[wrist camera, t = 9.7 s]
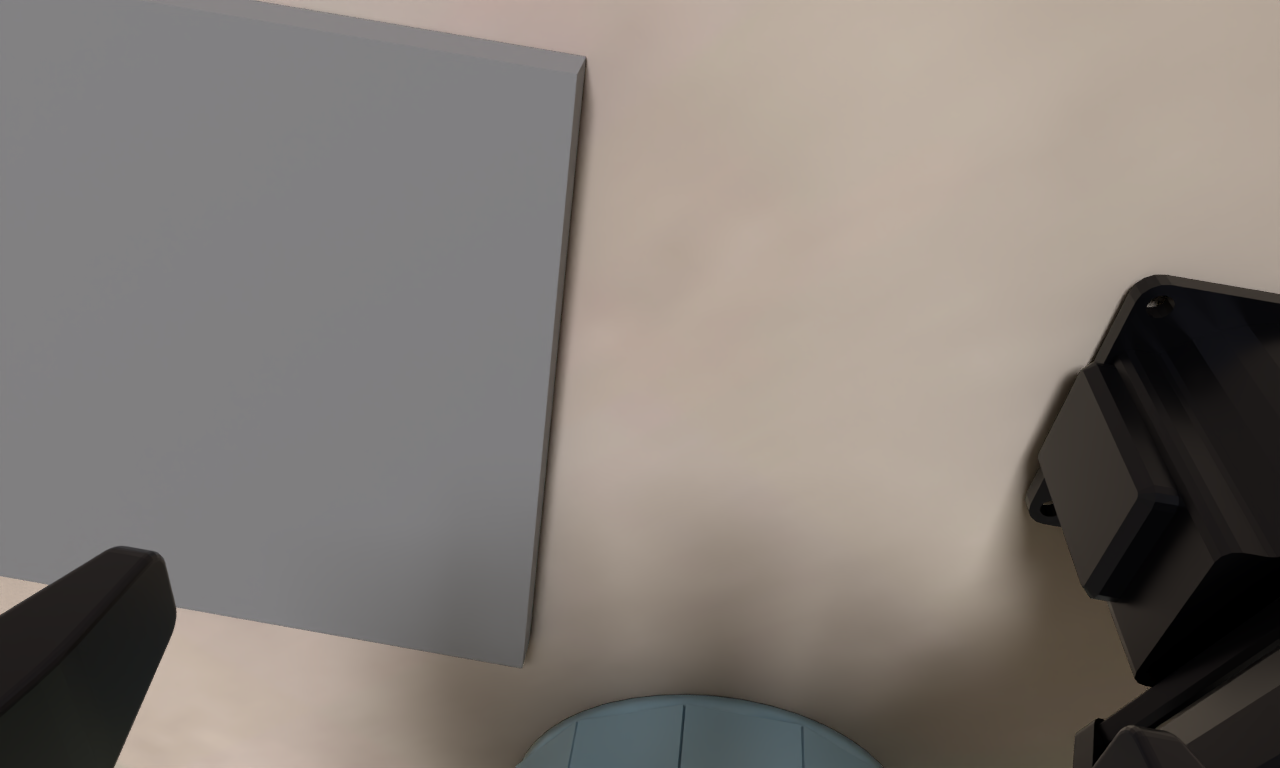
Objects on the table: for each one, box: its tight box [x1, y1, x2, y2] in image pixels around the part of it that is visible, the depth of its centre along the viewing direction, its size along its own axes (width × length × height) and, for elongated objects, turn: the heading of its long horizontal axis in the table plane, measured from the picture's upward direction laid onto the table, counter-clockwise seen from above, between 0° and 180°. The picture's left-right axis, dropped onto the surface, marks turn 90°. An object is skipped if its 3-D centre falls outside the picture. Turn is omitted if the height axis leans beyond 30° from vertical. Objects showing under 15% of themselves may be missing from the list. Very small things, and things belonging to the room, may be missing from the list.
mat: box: [0, 0, 586, 668], centre depth 22 cm, size 17×17×1 cm
